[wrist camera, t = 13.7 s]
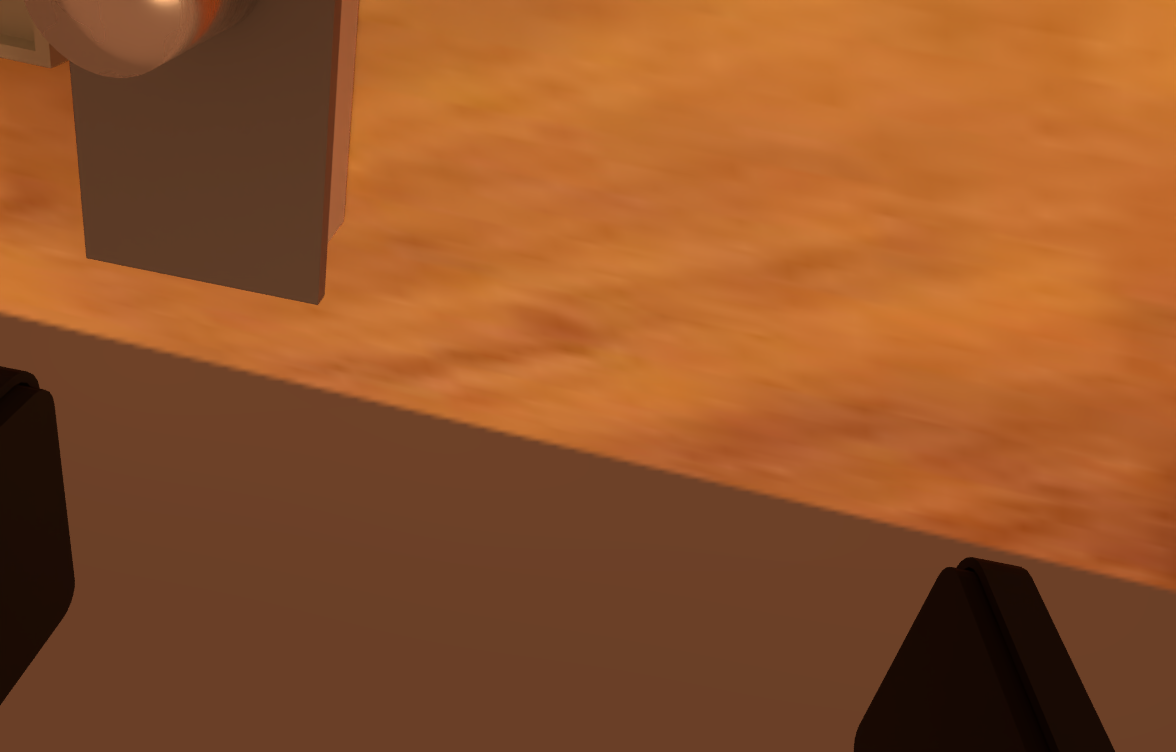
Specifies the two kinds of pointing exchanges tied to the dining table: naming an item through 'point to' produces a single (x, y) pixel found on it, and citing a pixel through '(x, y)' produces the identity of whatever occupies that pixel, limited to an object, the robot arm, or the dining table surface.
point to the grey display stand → (225, 153)
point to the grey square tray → (24, 37)
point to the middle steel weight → (131, 30)
